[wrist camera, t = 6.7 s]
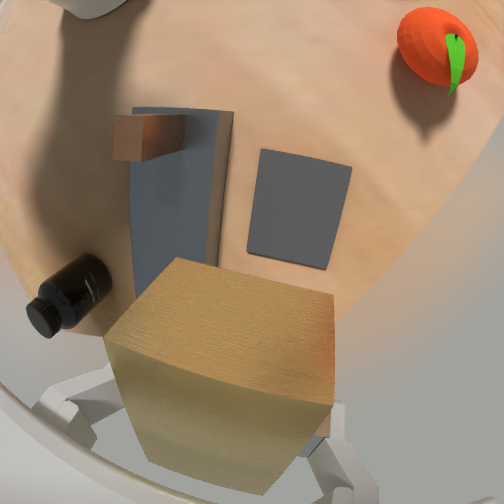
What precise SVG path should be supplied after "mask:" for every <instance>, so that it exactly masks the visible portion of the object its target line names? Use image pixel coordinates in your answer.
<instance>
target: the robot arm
mask: <svg viewBox="0 0 504 504" xmlns="http://www.w3.org/2000/svg"><path fill="white" fill-rule="evenodd" d="M45 1H48V2H51V3H53V4H56V5H58V6H60V7H62V8H64V9H66V10H68V11H69V12H70V13H72V14H73V15H74V16H76V17H77V18H80V19H92V18H96V17H99V16H102V15H104V14H106V13H108V12H110V11H112V10H114V9H115V8H117V7H118V6H120V5H121V4H122V3H124V2H125V1H126V0H45ZM124 407H125V406H124V403H123V400H122V397H121V395H120V392H119V389H118V386H117V383H116V380H115V377H114V374H113V371H112V368H111V364H110V361H108V363H107V364H106V365H105V367H104V368H103V369H100V368H98V369H96V370H93V371H91V372H88V373H85V374H82V375H80V376H77V377H74V378H71V379H69V380H66V381H63V382H61V383H58V384H55V385H52V386H50V387H49V388H48V389H47V390H46V391H45V393H44V394H43V395H42V396H41V397H40V399H39V400H38V401H37V402H36V404H35V405H34V406H33V407H32V409H30V408H29V407H28V406H27V405H25V404H24V403H23V402H22V401H21V400H19V399H18V398H17V397H16V396H15V395H14V394H13V393H11V392H10V391H9V390H8V389H7V388H6V387H5V386H4V385H3V384H2V383H1V382H0V504H217V503H213V502H209V501H206V500H203V499H199V498H196V497H193V496H190V495H187V494H184V493H181V492H178V491H176V490H173V489H170V488H167V487H165V486H162V485H160V484H157V483H155V482H153V481H150V480H148V479H146V478H143V477H141V476H139V475H137V474H134V473H132V472H130V471H128V470H126V469H124V468H122V467H120V466H118V465H116V464H114V463H112V462H110V461H108V460H106V459H105V458H103V457H101V456H99V455H98V454H96V453H94V452H92V451H91V450H90V449H91V448H92V446H93V445H94V443H95V441H96V440H97V436H96V434H95V433H94V431H93V430H92V428H91V426H90V425H92V424H94V423H96V422H98V421H100V420H102V419H104V418H105V417H107V416H109V415H111V414H113V413H114V412H116V411H118V410H120V409H122V408H124ZM297 456H300V457H307V458H308V461H309V464H310V466H311V468H312V470H313V472H314V475H315V477H316V479H317V481H318V483H319V486H320V488H321V490H322V492H323V494H324V496H323V497H322V498H320V499H318V500H317V501H315V502H313V503H312V504H379V486H378V485H377V483H376V482H375V480H374V479H373V477H372V476H371V474H370V473H369V471H368V470H367V468H366V466H365V465H364V463H363V462H362V460H361V459H360V457H359V456H358V454H357V453H356V451H355V450H354V448H353V447H352V445H351V444H350V442H349V441H348V440H345V402H344V401H342V400H334V406H333V408H332V409H331V411H330V412H329V414H328V415H327V417H326V418H325V419H324V421H323V422H322V424H321V425H320V426H319V428H318V429H317V431H316V432H315V433H314V435H313V436H312V437H311V439H310V440H309V441H308V443H307V444H306V445H305V447H304V448H303V449H302V450H301V452H300V453H299V454H298V455H297ZM468 504H500V503H499V502H498V501H497V500H496V499H495V498H493V497H487V498H484V499H481V500H478V501H474V502H471V503H468Z"/></svg>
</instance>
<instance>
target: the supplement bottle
mask: <svg viewBox="0 0 504 504" xmlns="http://www.w3.org/2000/svg"><path fill="white" fill-rule="evenodd" d="M110 290H111V278H110V275H109V272H108V270H107V268H106V267H105V265H104V264H103V263H102V262H101V261H100V260H99V259H98V258H96V257H95V256H93V255H90V254H83V255H81V256H79V257H77V258H76V259H74V260H73V261H71V262H70V263H69V264H67V265H66V266H64V267H63V268H62V269H60V270H59V271H57V272H56V273H55V274H53V275H52V276H51V277H49V278H48V279H46V280H45V281H44V282H43V283H42V284H41V285H40V287H39V291H38V297H36V298H34V299H33V301H32V302H30V303H29V304H28V305H27V307H26V311H27V315H28V318H29V320H30V322H31V323H32V325H33V326H34V327H35V329H36V330H37V331H38V332H39V333H40V334H41V335H42V336H44V337H46V338H49V339H50V338H52V337H53V336H54V335H55V334H56V333H58V332H59V331H60V329H61V328H62V329H71V328H73V327H75V326H76V325H77V324H78V323H79V322H80V321H81V320H82V319H83V318H84V317H85V316H86V315H87V314H88V313H89V312H90V311H91V310H92V309H93V308H94V307H95V306H97V305H98V304H99V303H100V302H101V301H102V300H103V299H104V298H105V297H106V296H107V295H108V294H109V292H110Z"/></svg>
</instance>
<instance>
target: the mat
mask: <svg viewBox="0 0 504 504" xmlns="http://www.w3.org/2000/svg"><path fill="white" fill-rule="evenodd" d="M351 172H352V167H350V166H345V165H341V164H337V163H333V162H329V161H324V160H320V159H315V158H310V157H305V156H301V155H295V154H290V153H285V152H279V151H274V150H268V149H261V152H260V159H259V166H258V173H257V180H256V186H255V193H254V200H253V207H252V214H251V221H250V228H249V235H248V243H247V250H246V251H247V252H251V253H256V254H260V255H265V256H269V257H274V258H278V259H283V260H287V261H292V262H296V263H301V264H305V265H310V266H314V267H319V268H323V269H327V265H328V262H329V258H330V255H331V251H332V248H333V244H334V241H335V237H336V233H337V230H338V226H339V222H340V218H341V214H342V210H343V206H344V202H345V198H346V194H347V190H348V185H349V181H350V177H351Z"/></svg>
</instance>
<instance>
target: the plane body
mask: <svg viewBox="0 0 504 504" xmlns="http://www.w3.org/2000/svg"><path fill="white" fill-rule="evenodd" d="M233 113H234V112H231V111H221V110H208V109H193V108H168V107H136V108H133V110H132V115H119V116H114V130H113V160H120V161H130V178H129V190H130V228H131V245H132V259H133V271H134V281H135V291H136V299H137V298H138V297H139V296H140V295H141V294H142V293H143V292H144V291H145V290H146V289H147V288H148V287H149V285H150V284H151V283H152V282H153V281H154V280H155V279H156V278H157V277H158V276H159V275H160V274H161V273H162V272H163V271H164V270H165V269H166V267H167V266H168V265H169V264H170V263H171V262H172V261H173V260H174V259H175V258H176V257H178V258H182V259H186V260H190V261H194V262H198V263H202V264H206V265H210V266H214V267H217V260H218V249H219V238H220V227H221V217H222V207H223V197H224V188H225V179H226V170H227V161H228V153H229V145H230V137H231V129H232V121H233Z"/></svg>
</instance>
